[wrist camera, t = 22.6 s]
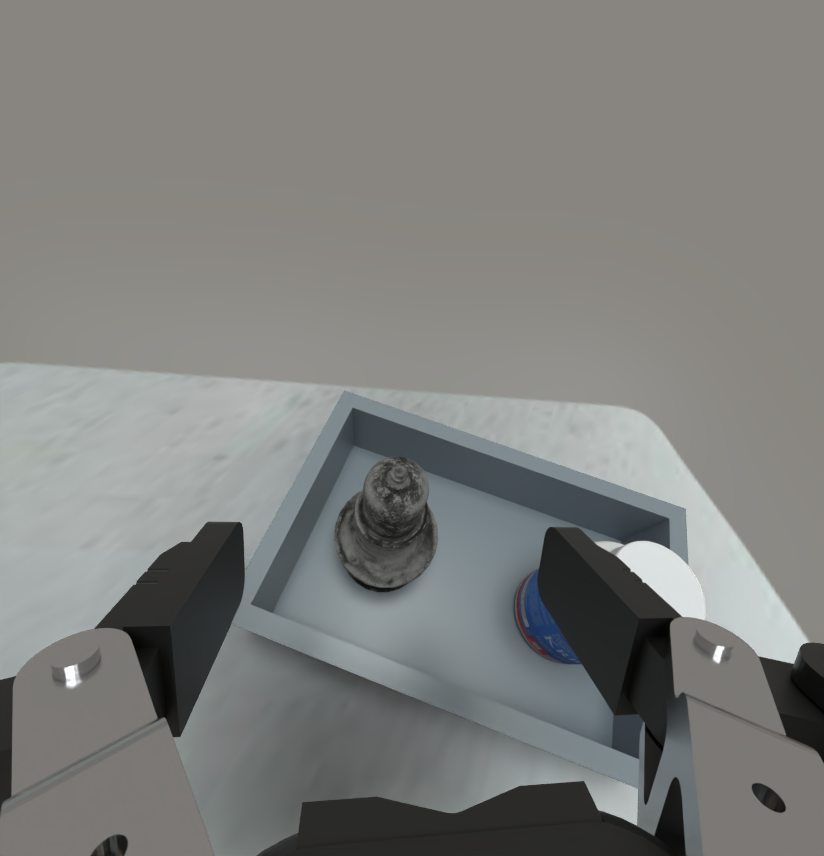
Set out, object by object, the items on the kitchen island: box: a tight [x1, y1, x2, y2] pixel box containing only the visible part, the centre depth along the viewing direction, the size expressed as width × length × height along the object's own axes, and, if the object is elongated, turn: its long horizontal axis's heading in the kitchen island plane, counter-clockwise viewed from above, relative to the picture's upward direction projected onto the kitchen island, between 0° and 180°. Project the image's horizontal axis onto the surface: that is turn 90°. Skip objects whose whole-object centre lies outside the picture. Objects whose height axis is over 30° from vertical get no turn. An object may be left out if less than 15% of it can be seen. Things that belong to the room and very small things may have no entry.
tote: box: [231, 391, 688, 788], centre depth 23 cm, size 22×14×6 cm, turn 71°
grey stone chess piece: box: [334, 456, 438, 592], centre depth 20 cm, size 6×6×12 cm
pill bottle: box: [515, 541, 706, 664], centre depth 20 cm, size 6×5×10 cm
